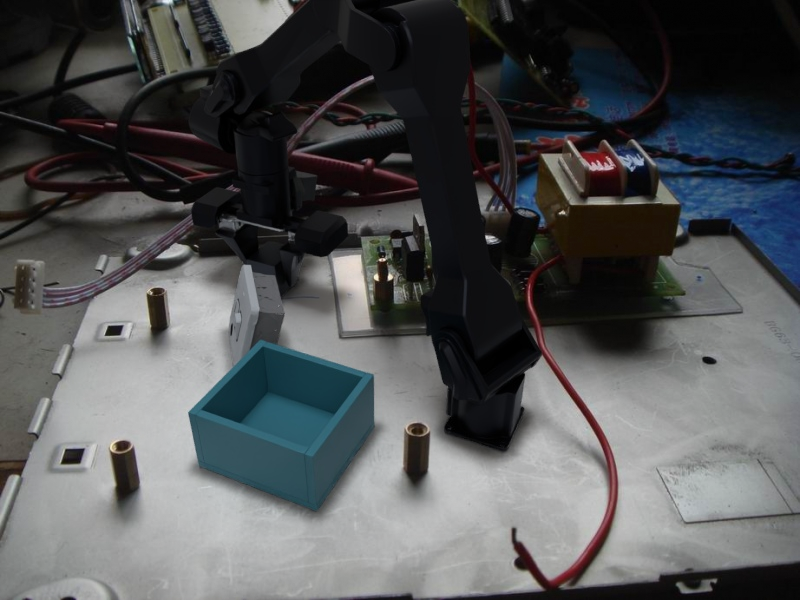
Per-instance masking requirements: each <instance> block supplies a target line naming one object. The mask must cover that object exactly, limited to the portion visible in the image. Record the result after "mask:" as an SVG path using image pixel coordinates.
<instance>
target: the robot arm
mask: <svg viewBox="0 0 800 600" xmlns="http://www.w3.org/2000/svg"><path fill="white" fill-rule="evenodd" d="M339 43H341V45H342V46H343V49H344V51H345V52H346V53H348V54H349V55H351V56H352V57H355V58H357V59H358V60H360V61H362V62H363V63H364V64H367V65H368V66H369V68H370V69H369V70H370V72H371V74H372V78H373V79H374V83H375V86H376V89H377V91H378V93H379V94H380V96H382V97H383V99H384V100H385V101H386V102H387V104H388V105H390V107H391V108H392V109H393V110H394V112H396V114H398V116H400V118H401V119H402V123H403V125H404V130H405V135H406V139H407V144H408V148H409V153H410V156H411V160H412V166H413V171H414V175H415V180H416V185H417V189H418V193H419V199H420V203H421V206H422V207H421V208H422V211H423V212H422V213H423V216H424V221H425V225H426V229H427V234H428V239H429V243H430V248H431V252H432V257H433V261H434V265H435V270H436V280H435V284H434V286H433V288H431V289H430V290H427V291H426V292H424V293H422V294H421V295H420V299H419V300H420V301H419V306H420V308H421V312H422V314H423V317H424V320H425V327H426V328H425V335H426V337H430V338H431V343H432V346H433V349H434V353H435V357H436V362H437V366H438V370H439V373H440V379H441V382H442V384H443V385H444V386H446V387H447V389H446V405H445V406H446V407H445V414H446V416H448V419H447V421H446V422H445V424H444V426H443V431H444V433H445V434H447V435H450V436H453V437H456V438H460V439H462V440H465V441H468V442H472V443H475V444H478V445H481V446H484V447H487V448H489V449H493V450H496V451H500V452H507V451H508V449H509V448H510V445H511V442H512V440H513V439H514V436H515V434H516V432H517V429H518V427H519V425H520V424H521V421H522V418H523V416H524V415H525V407H524V406H523V405H522V402H523V401H522V400H523V395H524V387H525V379H526V373H525V372H527V371H529V370H530V369H533V367H536V365H537V363H538V362H539V361H540V360H541V358H542V356H543V351H542V349H541V347H540V346H539V345H538V343H537V341H536V339H535V338H534V336H533V334H532V332H531V330H530V329H529V327H528V325H527V324H526V322H525V320H524V318H523V316H522V315H521V312H520V309H519V306H518V303H517V299H516V297H515V294H514V290H513V288H512V285H511V284H510V283H509V281H508V280H507V279H506V278H505V277H504V276H503V275H502V274H501V273H500V271H498V270H497V268H496V267H495V266H494V265H493V264H492V261H491V258H490V252H489V247H488V242H487V237H486V231H485V226H484V221H483V216H482V211H481V206H480V200H479V196H478V190H477V185H476V180H475V175H474V169H473V163H472V159H471V154H470V148H469V143H468V138H467V133H466V128H465V123H464V118H463V112H462V102H463V98H464V94H465V90H466V87H467V84H468V80H469V76H470V73H471V68H472V66H471V63H472V62H471V48H470V46H471V45H470V31H469V24H468V21H467V18H466V14H465V13H464V11H463V9H462V8H461V7H460V6H457V5H456V4H455V3H454V2H453V1H452V0H306V1H305V2H304V3H303V4H302V5H301V6H300V7H298V9H296V11H295V12H293V13H292V14H291V15H290V16H289V17H288V18H287V19H285V21H283V22H282V23H281V24H280V26H278V28H276V29H275V30H274V31H273V32H272V33H271V34H270V35H269V36H268V37H267V38H266V39H265V40H263V42H261V43H259V44H257V45H255V46H253V47H250V48H248V49H244V50H242V51H239V52H236V53H234V54H232V55H230V56H228V57H226V58H224V59H222V60H221V61H220V62H219V63H218V65H217V67H216V71H215V73H216V76H215V78H214V80H213V84H210V85H205V86H201V87H200V88H199V95H200V97H199V98H198V99H197V100H196V101H195V102H194V104H193V106H192V107H191V110H190V112H189V117H188V120H187V121H188V126H189V129H190V131H191V133H192V134H193V136H194V137H196V138H197V139H200V140H201V141H203V142H205V143H207V144H209V145H210V146H213V147H215V148H217V149H218V150H221V151H223V152H224V153H227V154H230V155H231V154H232V155H235V157H236V165H237V172H238V174H237V175H236V176H234V177H233V178H231V182H232V188H234V189H239V190H240V191H236V190H231V189H228V188H227V189H226V188H222V187H218V186H216V187H214V188H213V189H211V190H210V191H208V192H207V193H206V194H204V195H203V196H201V197H199V198H198V199H196V200H195V201H194V202H193V203H192V205H191V208H190V214H191V215H190V216H191V221H192V225H193V226H196V227H200V228H204V229H208V230H212V229H214V228H216V226H217V225H218V228H217V229H216V230H215V235H216V236H217V237H219V238H221V239H222V240H223V241H224V242H225V243H226V245H227V246H228V247H230V249H231V250H232V252H233V253H234V254H235V255H236V256H237V257H238V258H239V260H240V261H241V262H242V265H247V259H248V258H249V257H250V256H251V255H252V254H254V253H255V252H256V251H257V250H258V249H260V247H259V246H260V245H259V240H258V239H259V237H258V232H259V229H260V228H263V229H267V230H271V231H275V232H278V233H279V232H280V233H287V236H288V240H287V241H286V242H285V243H284V245H283V246H282V247H281V248H279V252H280V257H281V261H282V265H283V269H284V274H285V278H286V281H287V283H288V286H289V287H292V286H293V285H294V284H295V283H296V280H297V277H298V278H299V274H300V271H301V268H302V265H303V262H304V259H305V256H306V255H311V256H314V257H318V258H325V257H328V256H330V254H331V253H333V251H335V250H336V249H337V248H338V247H339V246H340V245H341V244H342V243H343V242H344V241H345V240H346V239H348V238H349V223H348V221H347V219H346V218H345V217H343V216H342V215H339V214H335V213H331V212H326V211H322V210H317V209H316V210H315V211H314V212H313V213H312V214H310V215H309V216H305V215H304V216H301V217H299V216H294V215H293V212H294V211H296V212H298V211H299V210H300V209H301V208H303V202H305V201H310V202H315V199H316V198H315V197H316V191H317V183H318V174H317V175H316V174H313V173H308V172H303V171H299V170H296V168H295V167H293V166H289V154H288V153H289V152H288V141H287V138H288V137H290V136H293V135H296V134H297V133H298V128H297V127H296V125H295V124H294V122H292V121H291V120H290V119H289V118H288V117H287V116H286V115H285V113H284V112H283V111H278V112H274V113H271V112H270V111H266V110H260V109H264V108H267V107H270V106H274V105H277V104H281V103H284V102H287V101H288V100H289V99H290V98H291V97H292V95H293V94H294V93H295V91H296V90H297V89H298V87H299V86H300V85H301V74H302V73H303V72H304V71H305V70H306V69H308V68H309V67H310V66H311V65H313V63H315V62H316V61H317V60H318V59H320V58H321V57H323V55H325V54H326V53H327V52H328V51H330V50H331V49H332V48H333V47H335V46H336V45H337V44H339ZM296 284H297V283H296ZM296 284H295V285H296ZM295 285H294V286H295ZM294 286H293V287H294ZM293 287H292V288H293Z"/></svg>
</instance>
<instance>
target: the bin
mask: <svg viewBox="0 0 800 600" xmlns="http://www.w3.org/2000/svg"><path fill="white" fill-rule="evenodd" d="M187 414H188V419H189V426H190V429H191V434H192V439H193V445H194V448H195V454H196V460H197V465H198V467H200V468H203V469H205V470H208V471H212V472H213V473H216V474H219V475H222V476H224V477H227V478H229V479H231V480H234V481H237V482H239V483H241V484H245V485H248V486H250V487H253V488H254V489H258V490H261V491H263V492H266V493H268V494H271V495H274V496H276V497H279V498H280V499H284V500H286V501H289V502H292V503H294V504H296V505H299V506H302V507H305V508H307V509H310V510H312V511H315V512H317V511H318V510H319V509H320V507H321V506H322V504H323V503H324V502H325V499H327V497H328V496H329V494H330V493H331V491H332V490H333V488H334V487H335V485H336V484H337V482H338V481H339V479H340V478H341V476H343V474H344V472H345V471H346V469H347V468H348V466H349V464H350V463H351V462H352V460H353V459H354V457H355V456H356V455H357V453H358V451H359V450H360V449H361V447H362V446H363V444H364V443H365V441H366V440H367V438H368V437H369V436H370V435H371V432H372V431H373V430H374V428H375V374H374V373H371V372H366V371H363V370H361V369H357V368H354V367H351V366H348V365H345V364H341V363H339V362H338V363H337V362H334V361H332V360H328V359H324V358H322V357H318V356H314V355H312V354H308V353H305V352H301V351H298V350H295V349H292V348H289V347H286V346H282V345H279V344H277V345H276V344H272V343H269V342H266V341H263V340H260V341H259V342H258V343H257V344H256V345H255V346H254V347H253V348H252V349H251V350H250V351H249V352H248V353H247V354H246V355H245V356H244V357H243V358H242V359H241V360H240V361H239V362H238V363H237V364H236V365H235V366H234V367H233V366H232V368H230V369H229V371H228V372H226V374H225V375H224V376H223V377H221V378H220V379H219V381H218V382H217V383H216V384H215V385H214V386H213V387H212V388H211V389H210V390H208V392H207V393H205V395H204V396H202V397H201V399H199V401H198V402H197V403H196V404H194V406H192V408H190V409H189V411H187Z"/></svg>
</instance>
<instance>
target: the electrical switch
mask: <svg viewBox="0 0 800 600" xmlns="http://www.w3.org/2000/svg"><path fill="white" fill-rule="evenodd" d="M229 317H230V318H229V323H228V328H227V329H228V331H227V332H228V339H229V347H230V355H231V360H232V368H233V367H234V366H235V365H236V364H237V363H238V362H239V361H240V360H241V359H242V358H243V357H244V356H245V355H246V354H247V353H248V352H249V351H250V350H251V349H252V348H253V347H254V346H255V345H256V344H257V343H258V342H259V341H260V340H263V341H266V342H269V343H272V344H276V345H278V341H279V338H280V334H281V330H282V326H283V322H284V318H285V309H284V305H283V301H282V297H280V293H279V289H278V285H277V281H276V277H275V275H264V274H261V273H254V272H252V269H251V265H244V264H242V265H241V268H240V272H239V276H238V280H237V284H236V289H235V293H234V298H233V302H232V307H231V312H230V316H229Z"/></svg>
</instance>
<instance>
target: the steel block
mask: <svg viewBox="0 0 800 600" xmlns="http://www.w3.org/2000/svg"><path fill="white" fill-rule="evenodd" d="M284 244H285V243H284ZM284 244H283V243H280V242H276V241H272V240H268V241H266V242H265V243H264V244H263V245H262V246H261V247H259V249H258V250H257V251H256V252H255V253H254V254H252V255H251V256H250V257H249V258H248V259H247V265H251V269H252V272H254V273H261V274H264V275H275V277H276V281H277V285H278V289H279V293H280V297H281V298H282V297H284V296H285V295H286V294H287V293H288V292H289V291H290V290H291V289H292V288H293V287H294V286H295V285H296V284H297V283H298V282H299V276H298V277H297V280H296V283H295V284H294V285H293V286H292V287H289V286H288V283H287V281H286V278H285V274H284V269H283V265H282V261H281V257H280V252H279V248H281V247H282V246H283V245H284Z"/></svg>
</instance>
